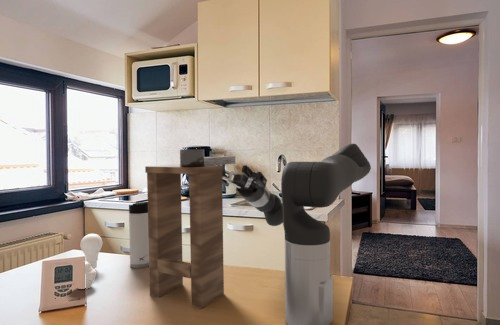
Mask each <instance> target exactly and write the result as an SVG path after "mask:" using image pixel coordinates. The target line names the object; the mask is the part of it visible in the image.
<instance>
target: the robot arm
mask: <svg viewBox="0 0 500 325" xmlns="http://www.w3.org/2000/svg"><path fill="white" fill-rule="evenodd" d="M241 168H242V169H241V173H237V172H235V171H229V170H227V169H225V168H224V167H223V172H222V185H223V186H225V187H229V185H232V186H234V187H235V188H236V191H237V193H238V195H239V196H240V197H241V198H242V199H244V200H245V201H246V202H247V203H249V204H250V205H251V206H253V207H254V208H255V209H257V211H259V212H262V213H263V216H264V219H265V221H266V224H268V225H269V226H271V227H277V226H280V225H281V224H282V225H283V230H284V306H285V307H284V315H285V316H284V317H285V318H284V319H285V323H286V324H287V325H331V324H332V322H333V321H334V275H333V274H331V232H330V230H331V229H330V227H329V225H327V224H326V223H323V222H322V221H320V220H318V219H316V218H314V217H312V216H311V215H310V214H308V212H307V211H306V210H305V208H306V207H307V208H327V207H330V206H332V204H334V203H335V201H336V200H337V198H339V195H340V194H341V193H342V192H343V191H345V190H346V189H348V188H349V187H350V186H352V185H353V184H354V183H356V182H358V181H361V180H362V179H364V178H365V177H366V176H367V175H368V174H369V173H370V172H371V169H372V166H371V164H370V162H369V160H368V159H367V157H366V156H365V154H364V153H363V152H362V150H361V149H360V146H358V145H357V144H356V143H350V144H347V145H345V146H343V147H341V148H340V149H339V150H337V151H336V152H335V153H333V154H332V155H329V156H327V157H325V158H324V159H322V160H321V161H290V162H288V163H286V164H285V166H284V167H283V170H282V174H281V181H280V182H281V186H280V187H281V192H280V193H281V199H280V197H279V196H278V195H276V194H274V193H272V192H271V191H270V190H269V189H268V188H267V182H268V179H267V178H266V176H264V174H263V173H262V171H257V172H256V171H255V170H252V169H251V168H250V167H249V166H248V165H246V164H243V165H242V167H241ZM232 177H233V179H232Z"/></svg>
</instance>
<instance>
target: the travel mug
mask: <svg viewBox="0 0 500 325" xmlns="http://www.w3.org/2000/svg"><path fill="white" fill-rule="evenodd" d="M128 222H129V223H128V225H129V226H128V227H129V230H128V231H129V260H130V261H129V264H130V268H133V269H143V268H146V267H149V236H148V201H141V202H136V203H135V202H134V203H132V204H129V205H128Z"/></svg>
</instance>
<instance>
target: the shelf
mask: <svg viewBox="0 0 500 325" xmlns="http://www.w3.org/2000/svg"><path fill="white" fill-rule="evenodd" d="M144 168H145V173H146V180H147V181H146V184H147V192H146V193H147V202H148V236H149V266H148V270H149V271H148V273H149V275H148V276H149V296H152V297H156V298H161V297H163V296H164V295H167V294H168V293H170V292H172V291H174V290H176V289H177V288H179V287H182V286H183V285H184V283H183V282H184V278H186V279H190V286H191V287H190V290H191V291H190V293H191V294H190V295H191V307H194V308H198V309H200V310H201V309H204V308H206V307H207V306H208V305H211V303H213V302H215V301H216V300H217V299H219V298H220V297H222V296H223V295H225V287H224V286H225V285H224V282H225V281H224V278H225V276H224V219H223V218H224V217H223V216H224V213H223V212H224V211H223V208H224V207H223V183H222V172H223V168H224V165H212V166H204V167H180V164H163V165H148V166H144ZM182 175H188V183H189V185H188V188H189V189H188V190H189V232H190V233H189V238H190V239H189V240H190V244H189V246H190V262H188V261H183V229H182V228H183V225H182V224H183V223H182V222H183V221H182V218H183V217H182Z"/></svg>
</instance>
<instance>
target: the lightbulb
mask: <svg viewBox="0 0 500 325" xmlns="http://www.w3.org/2000/svg"><path fill="white" fill-rule="evenodd" d="M103 243H104V242H103V239H102V237H101V236H100V235H99V234H97V233H88V234H86V235H85V236H83V238H82V239H81V240H80V243H79V244H80V246H79V247H80V249H81V251H82V253H83V254H84V256H85V262H89V263H90V264H91V267H92V268H93V269H96V268H97V267H98V266H97V265H98V260H99V259H98V258H99V254H100V251H101V250H102V246H103Z"/></svg>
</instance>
